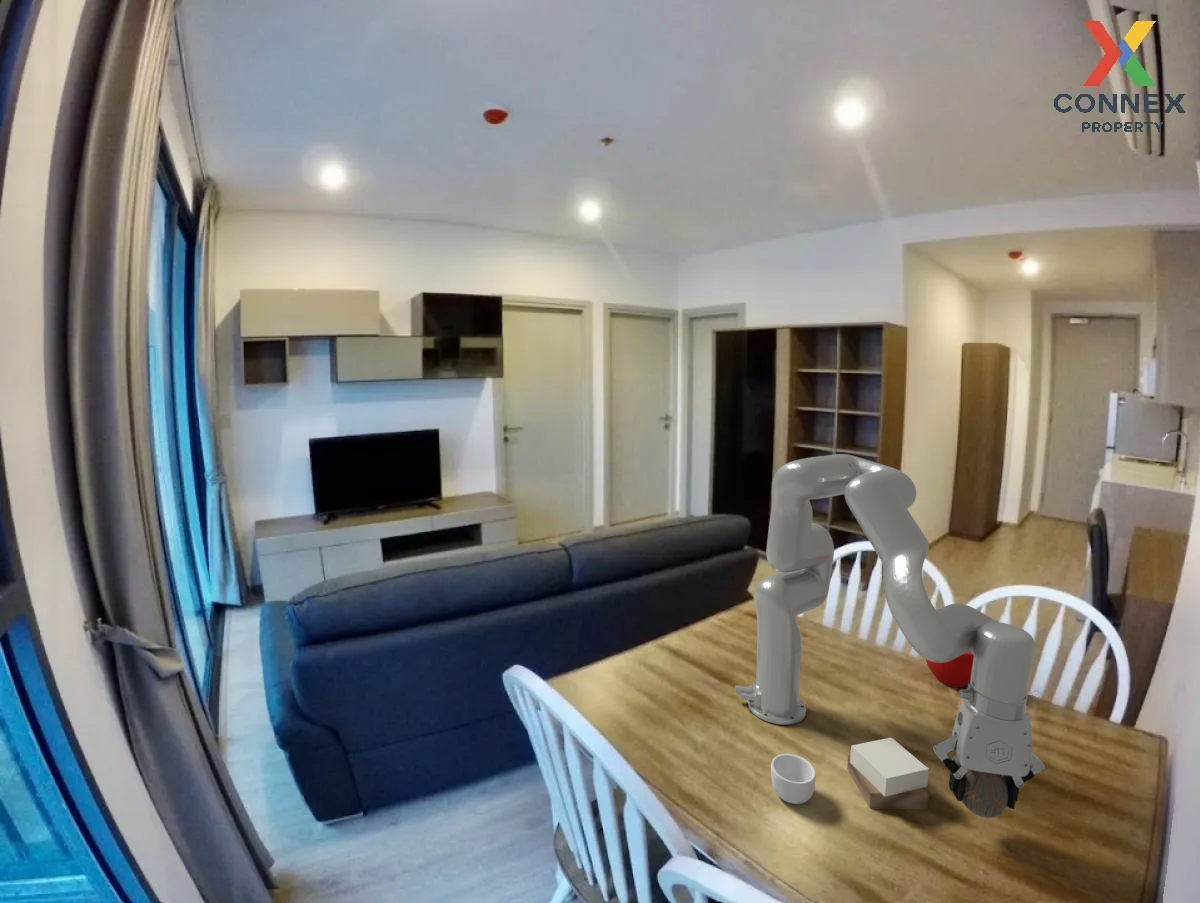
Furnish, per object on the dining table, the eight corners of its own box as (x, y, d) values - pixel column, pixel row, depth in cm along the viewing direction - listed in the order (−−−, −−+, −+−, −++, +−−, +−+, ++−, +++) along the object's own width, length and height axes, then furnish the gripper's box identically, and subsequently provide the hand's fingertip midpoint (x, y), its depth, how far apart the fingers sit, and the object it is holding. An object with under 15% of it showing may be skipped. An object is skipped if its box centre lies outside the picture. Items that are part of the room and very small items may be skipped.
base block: (869, 811, 101) (870, 793, 101) (847, 771, 111) (848, 755, 111) (927, 812, 101) (928, 794, 101) (899, 772, 111) (900, 756, 110)
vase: (946, 793, 98) (952, 748, 97) (983, 791, 99) (990, 746, 97) (975, 826, 92) (982, 778, 90) (1015, 824, 92) (1023, 776, 91)
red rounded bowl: (997, 677, 143) (1001, 639, 142) (969, 701, 133) (973, 661, 132) (941, 657, 154) (944, 621, 152) (911, 677, 144) (914, 640, 142)
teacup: (817, 814, 100) (819, 786, 99) (771, 807, 102) (773, 780, 101) (808, 774, 110) (810, 749, 109) (767, 769, 111) (768, 743, 111)
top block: (884, 796, 100) (886, 778, 100) (850, 762, 109) (851, 745, 108) (927, 786, 102) (928, 768, 102) (889, 753, 111) (891, 737, 110)
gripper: (945, 707, 90) (932, 807, 93) (1072, 723, 87) (1053, 825, 90) (928, 681, 97) (916, 774, 100) (1044, 694, 94) (1028, 790, 97)
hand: (981, 797), depth 95 cm, fingers closed on vase, 6 cm apart
